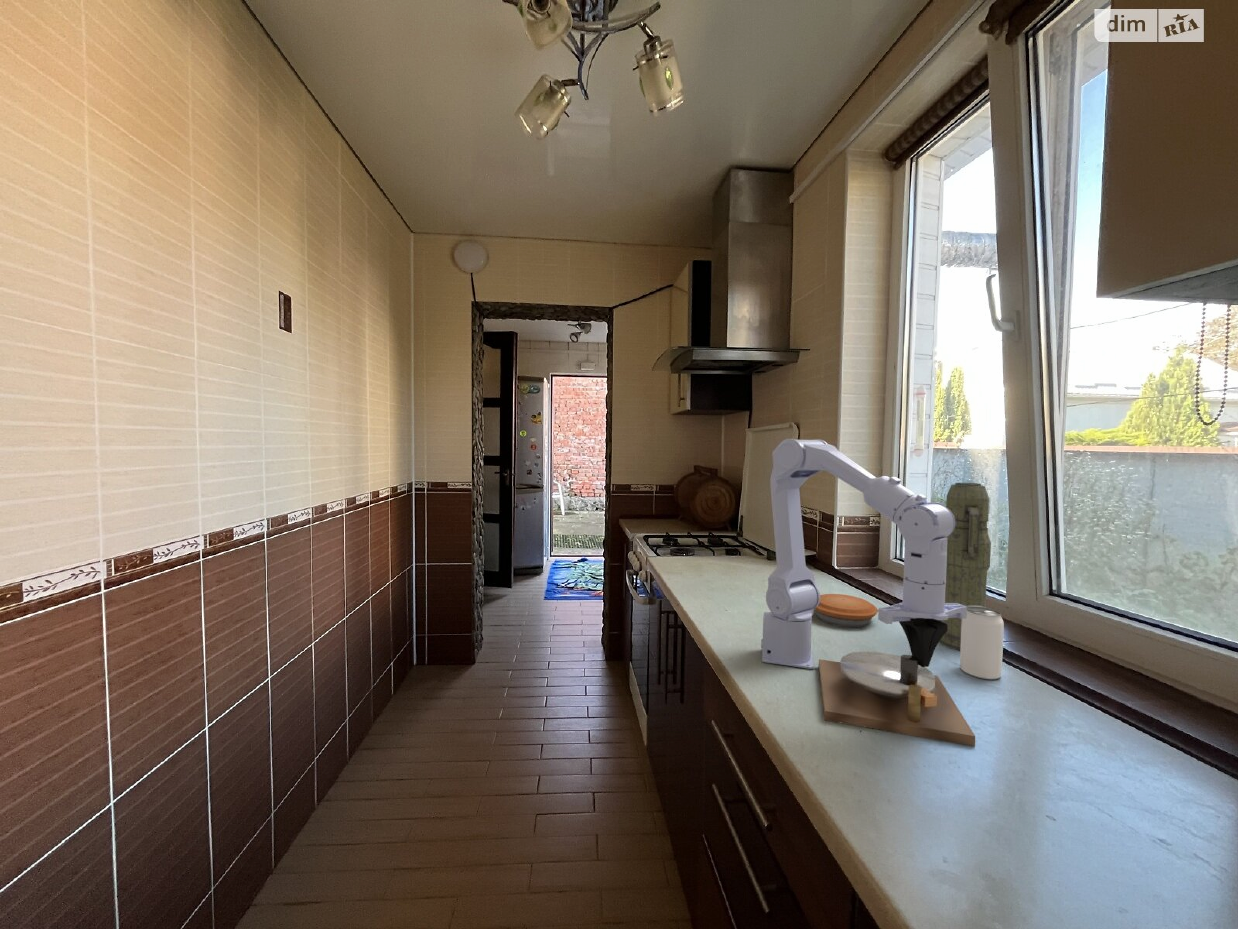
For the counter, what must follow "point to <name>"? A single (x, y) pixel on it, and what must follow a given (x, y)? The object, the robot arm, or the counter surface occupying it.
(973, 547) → the thermos
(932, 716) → the base board
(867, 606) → the pie
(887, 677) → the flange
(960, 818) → the counter surface
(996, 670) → the can
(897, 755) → the counter surface
